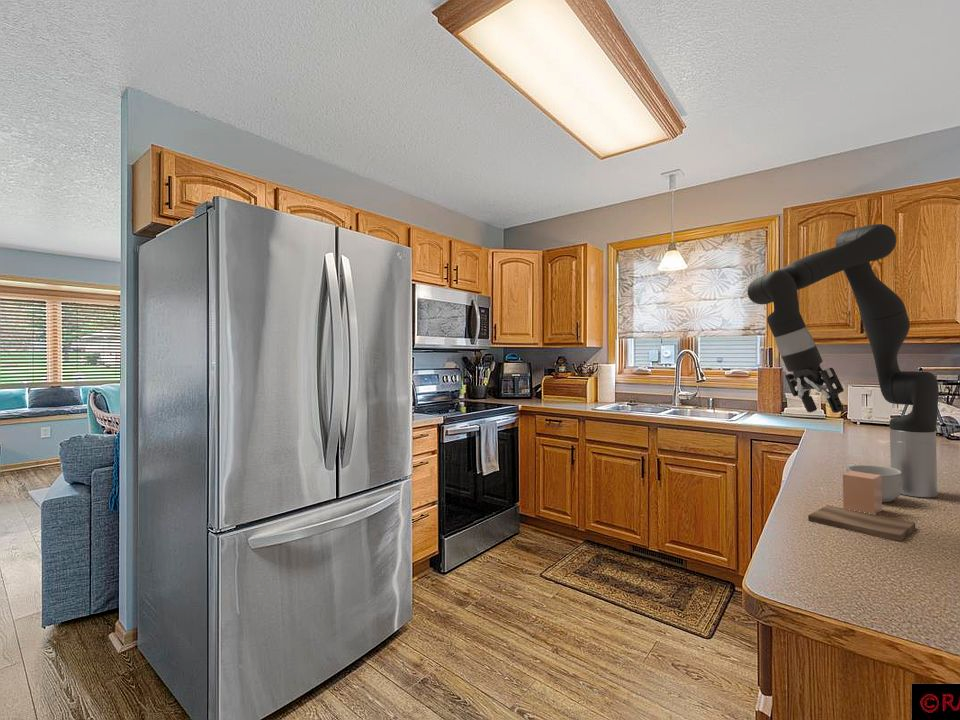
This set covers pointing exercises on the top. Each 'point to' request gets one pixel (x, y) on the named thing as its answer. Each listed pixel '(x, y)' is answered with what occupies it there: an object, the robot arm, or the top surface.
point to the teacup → (883, 479)
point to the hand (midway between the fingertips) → (825, 411)
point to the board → (863, 522)
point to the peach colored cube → (862, 492)
